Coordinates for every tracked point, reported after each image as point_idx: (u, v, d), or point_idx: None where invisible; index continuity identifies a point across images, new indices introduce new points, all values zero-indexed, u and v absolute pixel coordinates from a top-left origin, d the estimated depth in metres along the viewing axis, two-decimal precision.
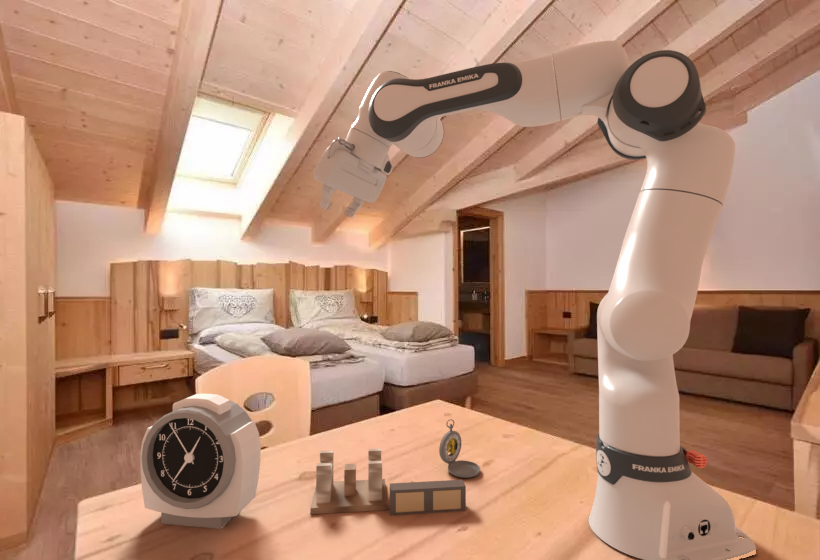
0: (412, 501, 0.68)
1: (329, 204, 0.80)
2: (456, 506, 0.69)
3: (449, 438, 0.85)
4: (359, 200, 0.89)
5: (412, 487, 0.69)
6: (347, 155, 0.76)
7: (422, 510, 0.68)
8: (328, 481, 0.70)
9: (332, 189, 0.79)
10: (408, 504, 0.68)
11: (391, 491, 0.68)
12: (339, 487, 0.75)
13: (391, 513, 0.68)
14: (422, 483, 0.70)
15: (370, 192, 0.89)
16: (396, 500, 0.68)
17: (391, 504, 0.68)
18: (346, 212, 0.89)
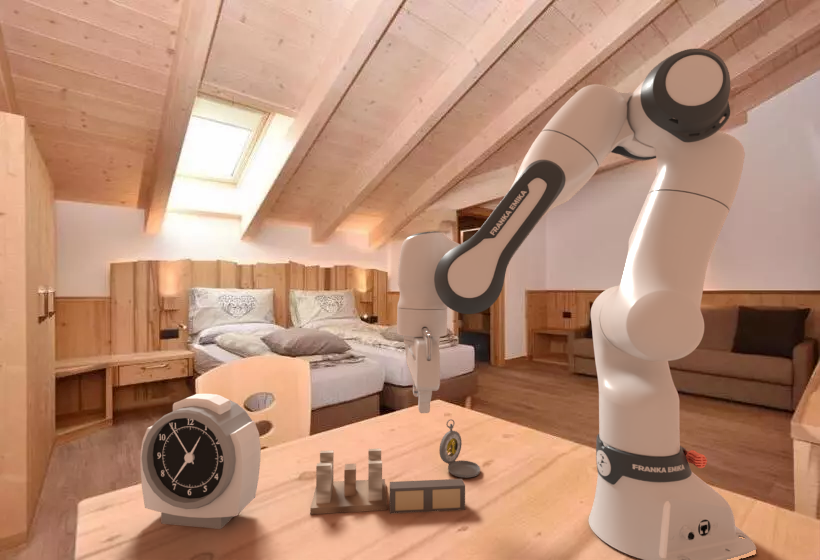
0: (412, 499, 0.69)
1: None
2: (455, 505, 0.69)
3: (449, 438, 0.85)
4: None
5: (412, 485, 0.69)
6: None
7: (422, 508, 0.69)
8: (328, 481, 0.70)
9: None
10: (407, 502, 0.69)
11: (391, 489, 0.68)
12: (339, 487, 0.75)
13: (391, 511, 0.68)
14: (422, 482, 0.70)
15: None
16: (396, 498, 0.68)
17: (391, 502, 0.68)
18: (416, 393, 0.74)
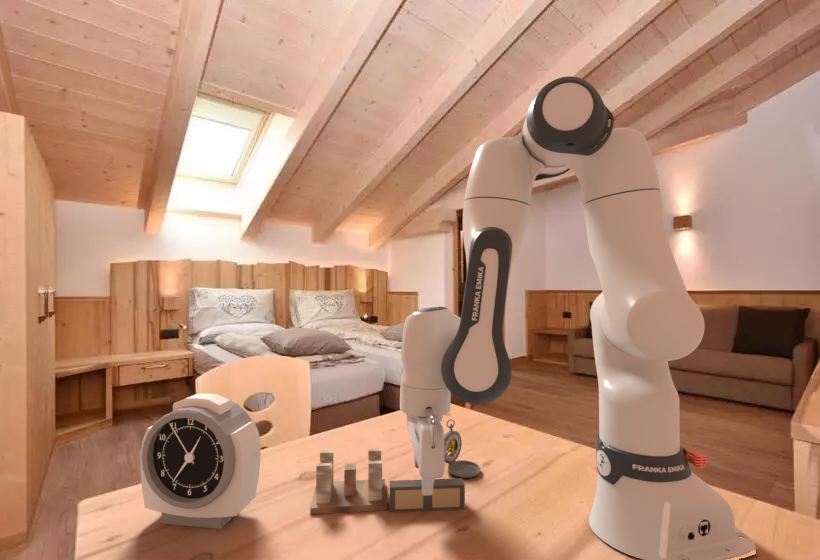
0: (411, 498, 0.69)
1: None
2: (455, 504, 0.69)
3: (449, 438, 0.85)
4: None
5: (412, 484, 0.70)
6: None
7: (421, 507, 0.69)
8: (328, 481, 0.70)
9: None
10: (407, 501, 0.69)
11: (391, 488, 0.69)
12: (339, 487, 0.75)
13: (391, 510, 0.69)
14: None
15: None
16: (396, 497, 0.69)
17: (391, 501, 0.69)
18: (418, 465, 0.74)
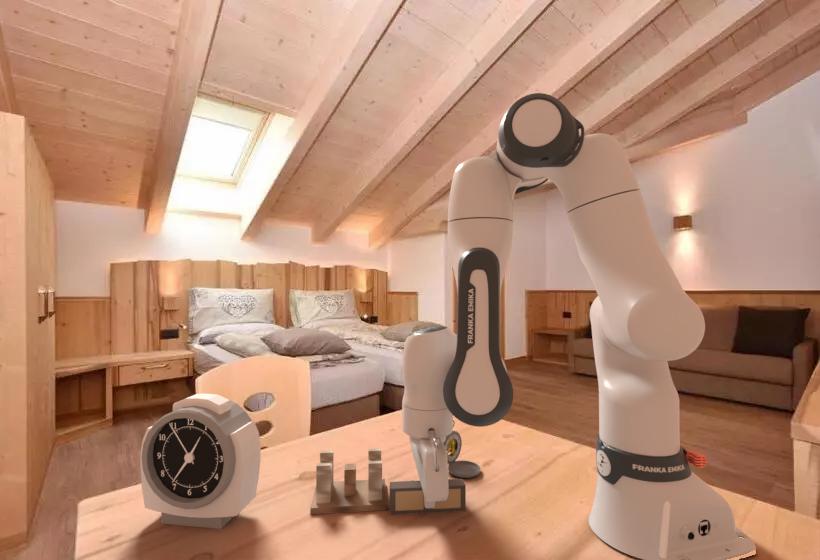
0: (412, 500, 0.68)
1: None
2: (456, 505, 0.69)
3: (449, 438, 0.85)
4: None
5: (412, 485, 0.69)
6: None
7: (422, 509, 0.68)
8: (328, 481, 0.70)
9: None
10: (407, 502, 0.68)
11: (391, 489, 0.68)
12: (339, 487, 0.75)
13: (391, 511, 0.68)
14: None
15: None
16: (396, 498, 0.68)
17: (391, 502, 0.68)
18: None
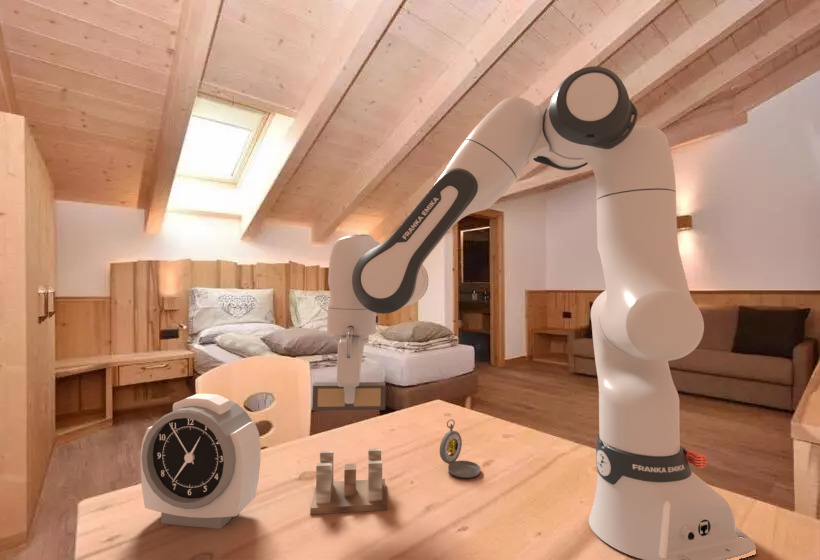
0: (333, 397, 0.72)
1: (354, 395, 0.71)
2: (376, 403, 0.73)
3: (449, 438, 0.85)
4: None
5: (335, 384, 0.73)
6: (360, 342, 0.67)
7: (343, 406, 0.72)
8: (328, 481, 0.70)
9: None
10: (329, 399, 0.72)
11: (313, 386, 0.72)
12: (339, 487, 0.75)
13: (313, 407, 0.72)
14: None
15: None
16: (318, 395, 0.72)
17: (313, 399, 0.72)
18: None
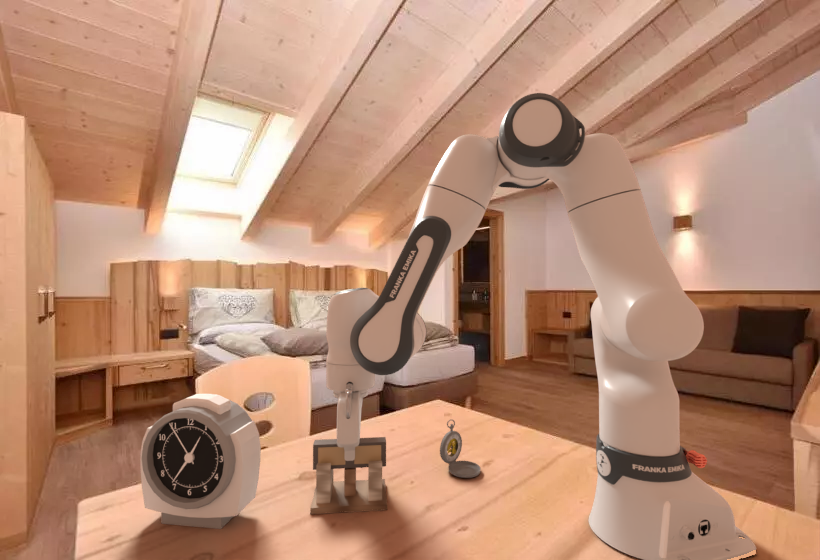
0: (334, 455, 0.72)
1: None
2: (377, 460, 0.72)
3: (450, 438, 0.85)
4: None
5: (335, 442, 0.72)
6: (359, 400, 0.66)
7: (344, 464, 0.72)
8: (328, 481, 0.70)
9: None
10: (330, 458, 0.72)
11: (314, 446, 0.71)
12: (339, 487, 0.75)
13: (314, 466, 0.71)
14: None
15: None
16: (319, 454, 0.71)
17: (314, 458, 0.71)
18: None
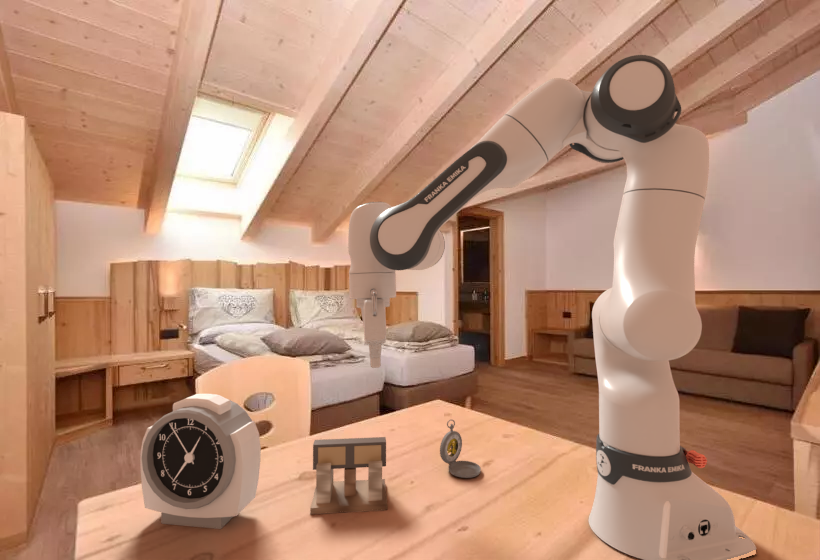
0: (334, 455, 0.72)
1: None
2: (377, 460, 0.72)
3: (450, 438, 0.85)
4: None
5: (335, 442, 0.72)
6: (384, 302, 0.69)
7: (344, 464, 0.72)
8: (328, 481, 0.70)
9: None
10: (330, 458, 0.72)
11: (314, 445, 0.71)
12: (339, 487, 0.75)
13: (314, 466, 0.71)
14: (346, 440, 0.74)
15: None
16: (319, 454, 0.71)
17: (314, 458, 0.71)
18: None
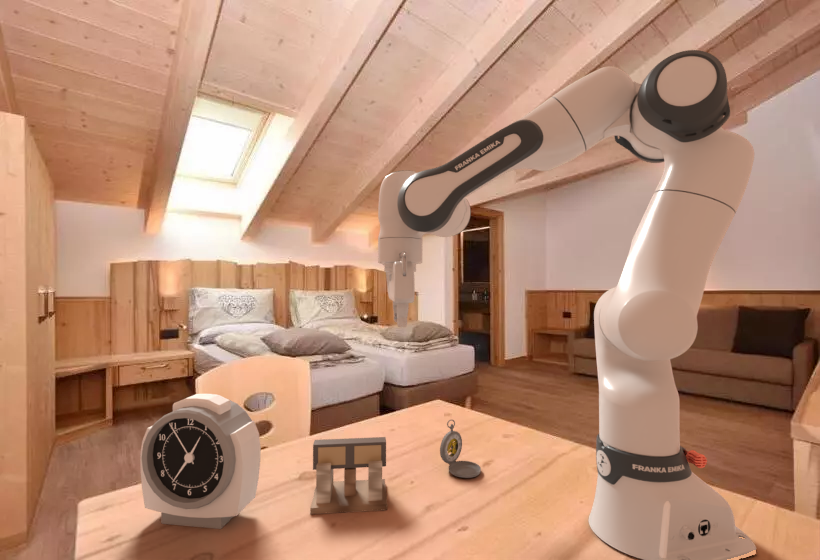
0: (334, 455, 0.72)
1: (406, 319, 0.75)
2: (377, 460, 0.72)
3: (450, 438, 0.85)
4: None
5: (335, 442, 0.72)
6: None
7: (344, 464, 0.72)
8: (328, 481, 0.70)
9: None
10: (330, 458, 0.72)
11: (314, 445, 0.71)
12: (339, 487, 0.75)
13: (314, 466, 0.71)
14: (346, 440, 0.74)
15: None
16: (319, 454, 0.71)
17: (314, 458, 0.71)
18: (396, 319, 0.83)
